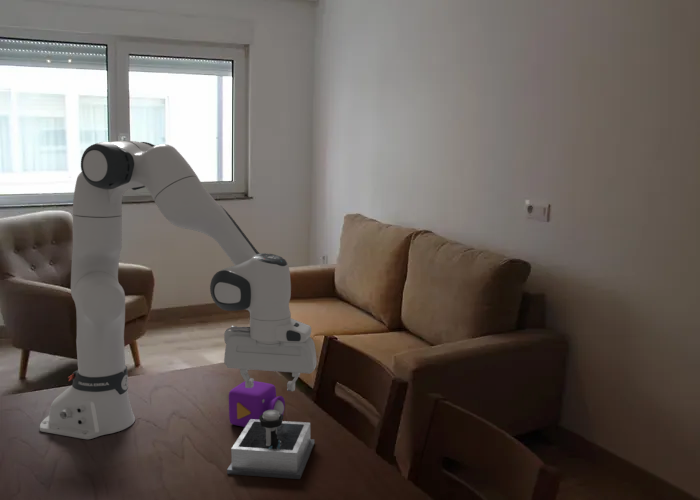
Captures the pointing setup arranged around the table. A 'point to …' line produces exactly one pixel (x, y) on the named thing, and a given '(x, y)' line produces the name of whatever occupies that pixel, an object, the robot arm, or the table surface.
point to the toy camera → (253, 402)
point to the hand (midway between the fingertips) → (270, 388)
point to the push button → (271, 428)
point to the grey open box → (272, 451)
